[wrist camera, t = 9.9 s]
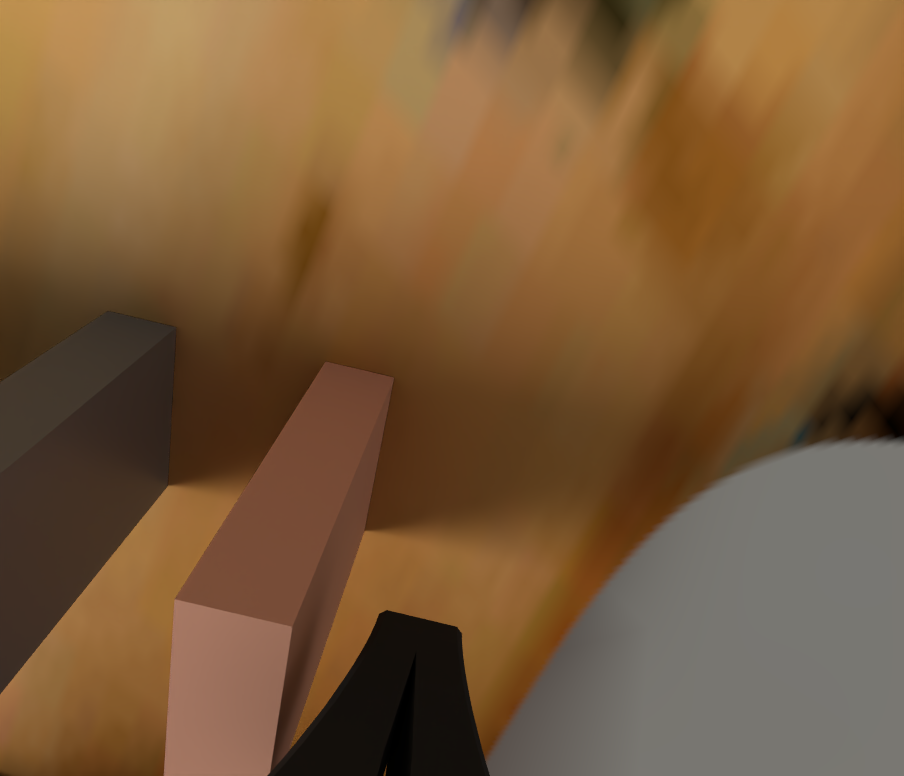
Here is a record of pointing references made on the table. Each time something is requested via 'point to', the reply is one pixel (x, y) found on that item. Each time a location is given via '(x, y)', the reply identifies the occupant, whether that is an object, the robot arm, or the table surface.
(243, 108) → the table surface
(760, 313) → the table surface
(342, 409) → the domino
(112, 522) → the domino
